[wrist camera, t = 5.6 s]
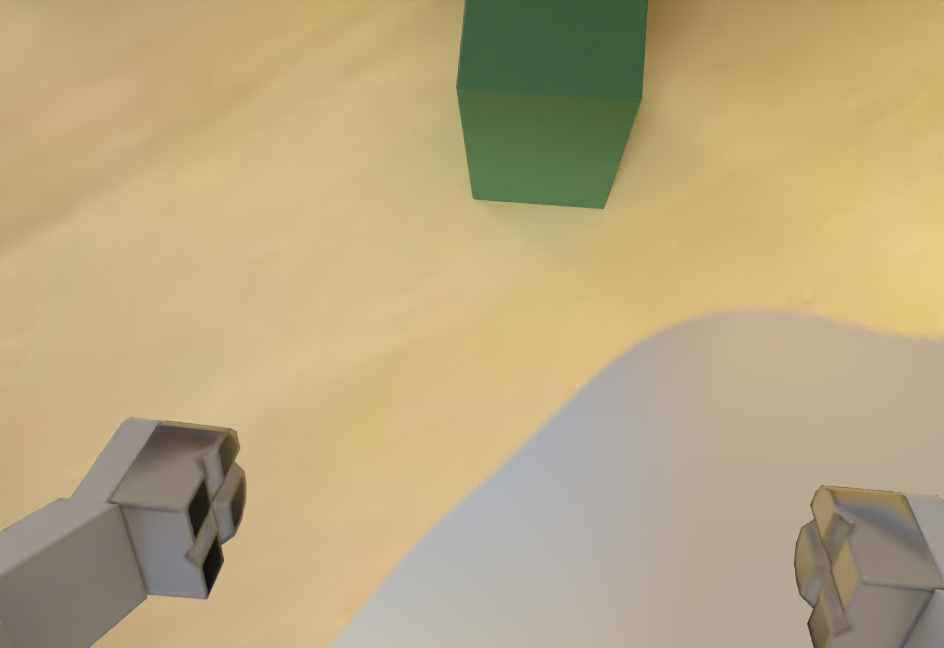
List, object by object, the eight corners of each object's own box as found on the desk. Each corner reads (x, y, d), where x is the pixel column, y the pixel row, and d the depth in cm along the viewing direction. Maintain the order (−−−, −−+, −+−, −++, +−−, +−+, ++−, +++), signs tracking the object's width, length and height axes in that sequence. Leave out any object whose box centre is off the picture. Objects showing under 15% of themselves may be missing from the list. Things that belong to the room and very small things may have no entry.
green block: (472, 199, 30) (455, 88, 21) (484, 77, 31) (472, -78, 22) (603, 209, 30) (642, 100, 21) (612, 86, 31) (652, -69, 22)
